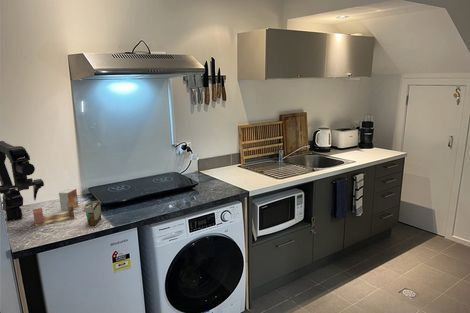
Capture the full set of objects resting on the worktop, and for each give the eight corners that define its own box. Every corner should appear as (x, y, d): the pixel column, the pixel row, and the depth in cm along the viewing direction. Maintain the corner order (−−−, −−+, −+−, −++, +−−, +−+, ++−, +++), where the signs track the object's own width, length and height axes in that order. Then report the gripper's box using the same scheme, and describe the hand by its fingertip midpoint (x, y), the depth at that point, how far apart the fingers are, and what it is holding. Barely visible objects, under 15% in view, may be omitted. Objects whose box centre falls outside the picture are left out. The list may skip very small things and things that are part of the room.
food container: (90, 218, 180) (88, 200, 178) (102, 218, 181) (100, 200, 178) (82, 228, 168) (79, 209, 166) (94, 227, 169) (92, 208, 166)
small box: (69, 210, 191) (67, 193, 189) (60, 210, 192) (58, 192, 190) (78, 205, 199) (76, 188, 197) (70, 205, 200) (68, 188, 198)
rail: (35, 227, 171) (33, 213, 169) (34, 221, 177) (32, 208, 176) (74, 218, 180) (72, 206, 178) (72, 214, 187) (70, 202, 185)
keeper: (34, 223, 171) (33, 213, 170) (34, 219, 176) (32, 209, 175) (44, 221, 173) (42, 211, 172) (43, 217, 178) (41, 207, 177)
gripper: (-3, 179, 155) (3, 211, 159) (43, 172, 167) (48, 202, 170) (-4, 174, 164) (1, 205, 167) (39, 167, 175) (44, 196, 179)
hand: (24, 202), depth 171 cm, fingers open, 9 cm apart
